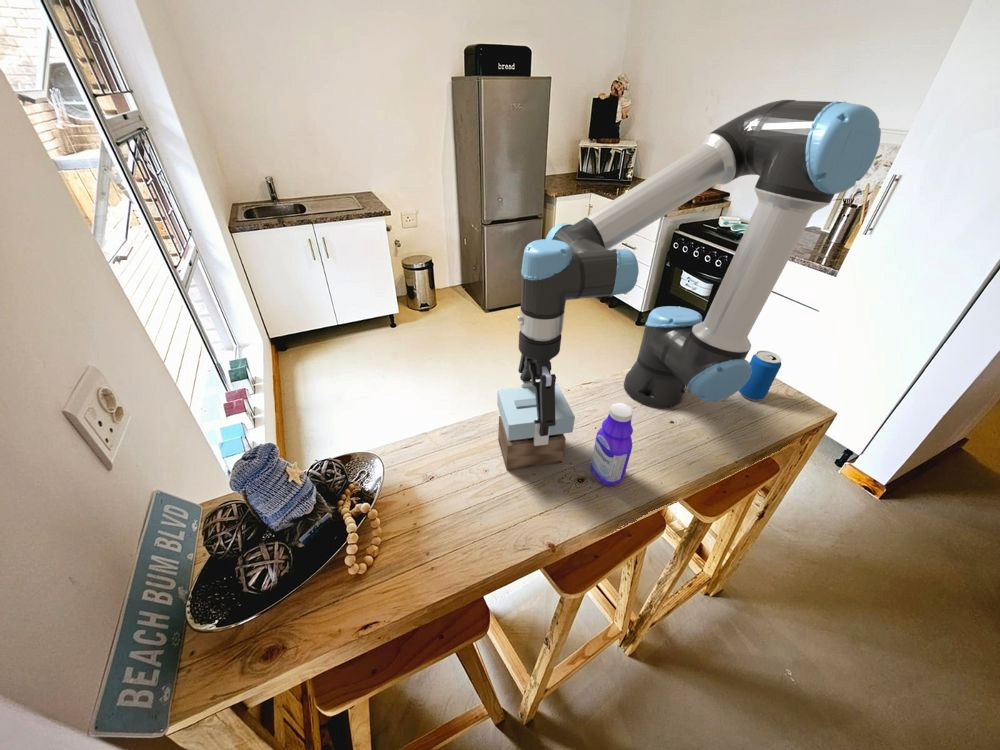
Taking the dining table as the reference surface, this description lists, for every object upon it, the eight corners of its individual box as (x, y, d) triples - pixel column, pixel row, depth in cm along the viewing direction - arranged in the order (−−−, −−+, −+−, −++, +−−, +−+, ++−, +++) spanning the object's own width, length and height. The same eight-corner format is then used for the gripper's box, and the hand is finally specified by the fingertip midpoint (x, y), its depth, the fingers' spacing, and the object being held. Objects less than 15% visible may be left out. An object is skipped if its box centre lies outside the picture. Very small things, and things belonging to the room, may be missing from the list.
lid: (555, 398, 90) (557, 381, 88) (572, 432, 82) (575, 415, 79) (497, 404, 88) (497, 388, 86) (508, 440, 79) (508, 423, 77)
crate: (549, 433, 95) (552, 410, 91) (561, 462, 88) (565, 438, 84) (498, 439, 93) (499, 416, 89) (506, 470, 86) (507, 445, 82)
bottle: (584, 466, 87) (597, 401, 77) (606, 458, 89) (622, 394, 79) (604, 492, 82) (621, 426, 72) (627, 483, 84) (647, 418, 74)
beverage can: (769, 402, 107) (789, 364, 100) (744, 402, 106) (762, 363, 100) (756, 387, 112) (774, 350, 105) (732, 387, 112) (749, 349, 105)
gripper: (506, 304, 82) (503, 391, 95) (537, 370, 63) (529, 468, 76) (542, 301, 83) (535, 388, 96) (584, 365, 64) (568, 463, 77)
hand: (533, 424), depth 86 cm, fingers closed on lid, 11 cm apart
